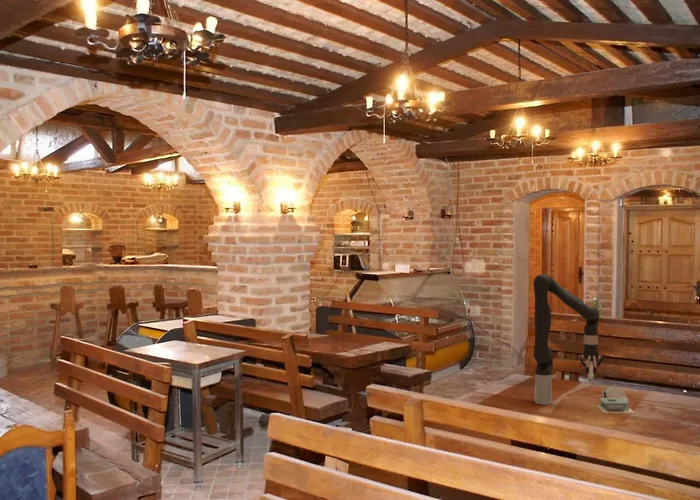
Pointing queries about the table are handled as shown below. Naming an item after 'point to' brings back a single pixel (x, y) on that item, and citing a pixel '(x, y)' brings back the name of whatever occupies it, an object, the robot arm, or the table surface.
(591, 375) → the pin
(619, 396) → the white black beveled block
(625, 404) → the square frame block
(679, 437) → the table surface
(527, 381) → the table surface
